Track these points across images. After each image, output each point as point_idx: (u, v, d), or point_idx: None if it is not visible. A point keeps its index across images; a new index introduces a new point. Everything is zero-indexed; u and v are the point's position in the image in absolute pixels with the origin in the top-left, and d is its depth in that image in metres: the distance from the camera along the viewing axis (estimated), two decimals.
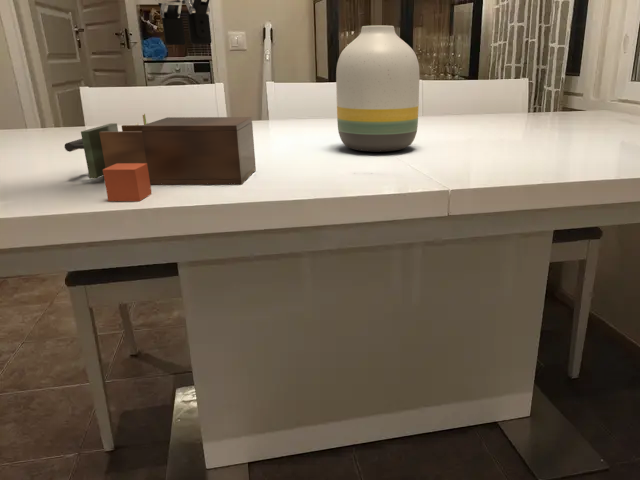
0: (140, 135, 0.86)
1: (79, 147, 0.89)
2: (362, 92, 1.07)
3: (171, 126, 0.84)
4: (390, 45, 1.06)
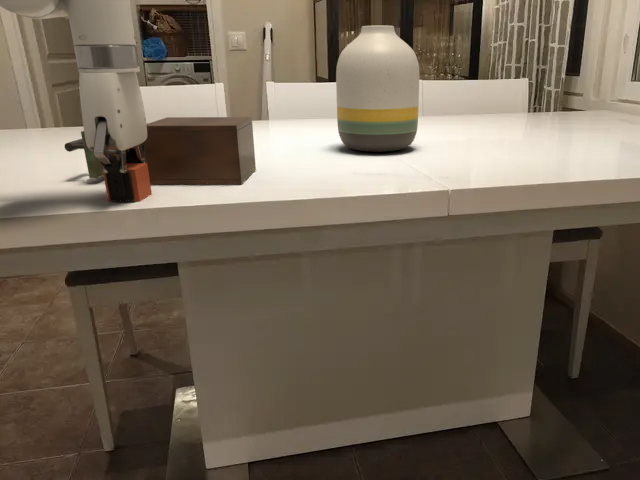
0: None
1: (79, 147, 0.89)
2: (362, 92, 1.07)
3: (171, 126, 0.84)
4: (390, 45, 1.06)
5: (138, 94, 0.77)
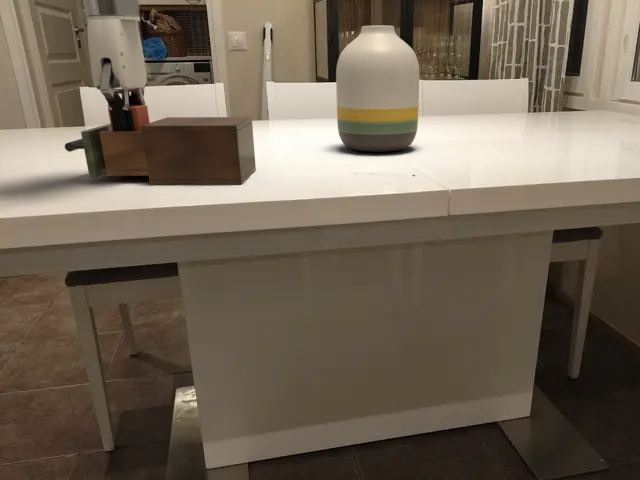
0: (140, 135, 0.86)
1: (79, 147, 0.89)
2: (362, 92, 1.07)
3: (171, 126, 0.84)
4: (390, 45, 1.06)
5: (138, 42, 0.88)
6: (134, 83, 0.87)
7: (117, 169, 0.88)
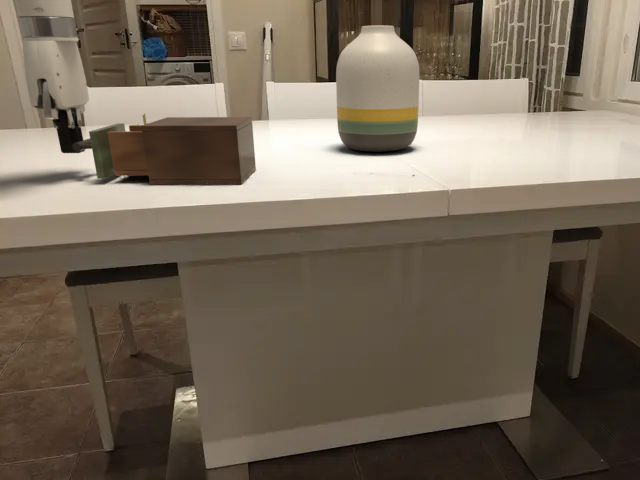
0: None
1: (87, 147, 0.89)
2: (362, 92, 1.07)
3: (171, 126, 0.84)
4: (390, 45, 1.06)
5: (78, 61, 0.89)
6: (73, 102, 0.88)
7: (125, 169, 0.88)
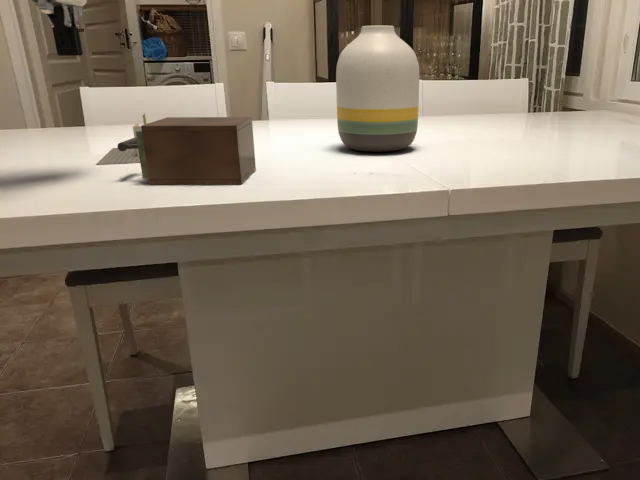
0: None
1: (132, 147, 0.89)
2: (362, 92, 1.07)
3: (171, 126, 0.84)
4: (390, 45, 1.06)
5: None
6: None
7: None
